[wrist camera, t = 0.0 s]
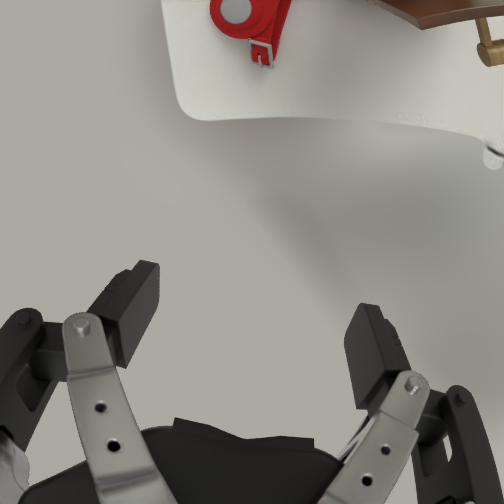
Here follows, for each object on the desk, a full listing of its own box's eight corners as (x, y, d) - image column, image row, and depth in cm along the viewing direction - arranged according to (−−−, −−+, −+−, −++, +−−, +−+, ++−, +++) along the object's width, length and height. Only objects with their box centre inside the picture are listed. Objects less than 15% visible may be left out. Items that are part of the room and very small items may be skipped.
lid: (417, 18, 10) (440, 95, 14) (577, 5, 3) (582, 66, 6) (347, -13, 19) (369, 29, 23) (466, -37, 12) (480, 3, 15)
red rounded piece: (190, 12, 26) (243, -46, 18) (211, 9, 28) (261, -41, 21) (256, 79, 29) (322, 28, 22) (272, 72, 32) (332, 27, 25)
